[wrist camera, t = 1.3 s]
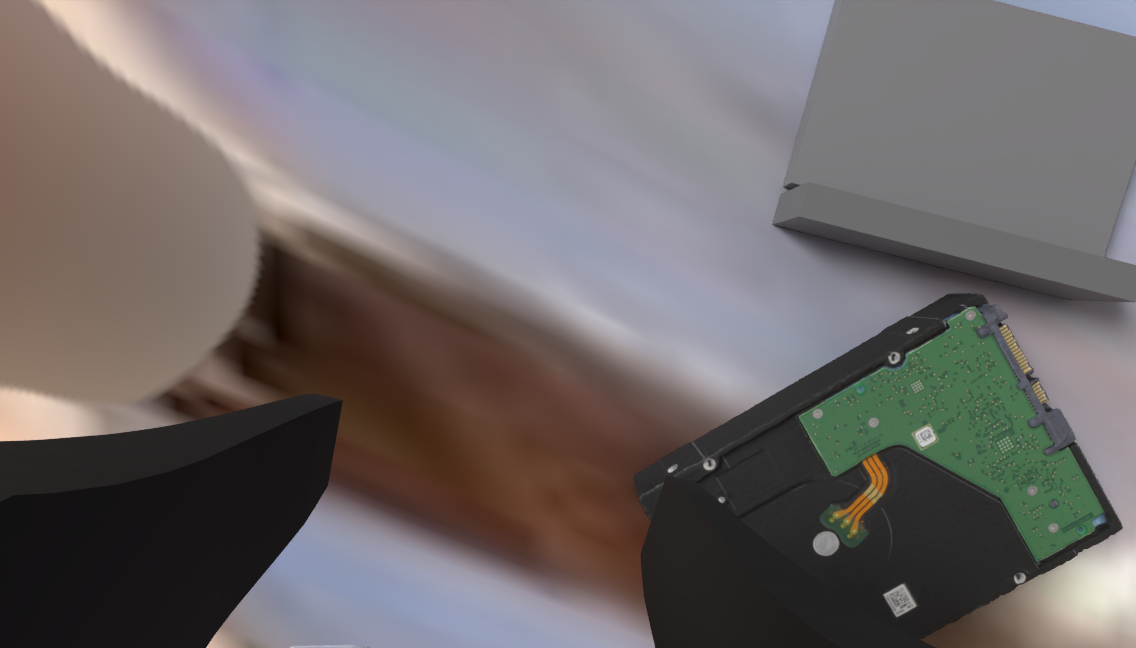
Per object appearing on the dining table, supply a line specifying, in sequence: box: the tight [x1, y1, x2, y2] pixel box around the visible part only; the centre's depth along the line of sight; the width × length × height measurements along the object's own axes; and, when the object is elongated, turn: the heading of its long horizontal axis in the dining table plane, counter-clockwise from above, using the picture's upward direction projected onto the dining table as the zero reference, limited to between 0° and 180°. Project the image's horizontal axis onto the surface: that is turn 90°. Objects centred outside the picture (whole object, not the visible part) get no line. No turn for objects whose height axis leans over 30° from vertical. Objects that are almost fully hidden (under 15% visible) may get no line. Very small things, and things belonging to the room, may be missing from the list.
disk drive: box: [633, 293, 1123, 640], centre depth 21 cm, size 10×3×15 cm
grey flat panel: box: [773, 0, 1136, 302], centre depth 20 cm, size 30×12×2 cm, turn 166°
